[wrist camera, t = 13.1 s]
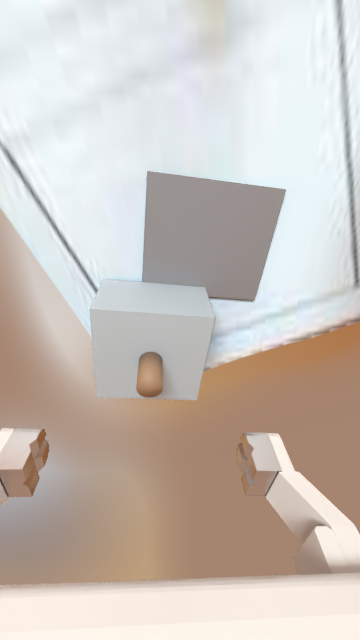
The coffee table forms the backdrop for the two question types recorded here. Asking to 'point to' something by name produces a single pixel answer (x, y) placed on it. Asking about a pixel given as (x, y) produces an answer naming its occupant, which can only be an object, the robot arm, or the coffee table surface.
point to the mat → (208, 233)
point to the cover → (150, 339)
